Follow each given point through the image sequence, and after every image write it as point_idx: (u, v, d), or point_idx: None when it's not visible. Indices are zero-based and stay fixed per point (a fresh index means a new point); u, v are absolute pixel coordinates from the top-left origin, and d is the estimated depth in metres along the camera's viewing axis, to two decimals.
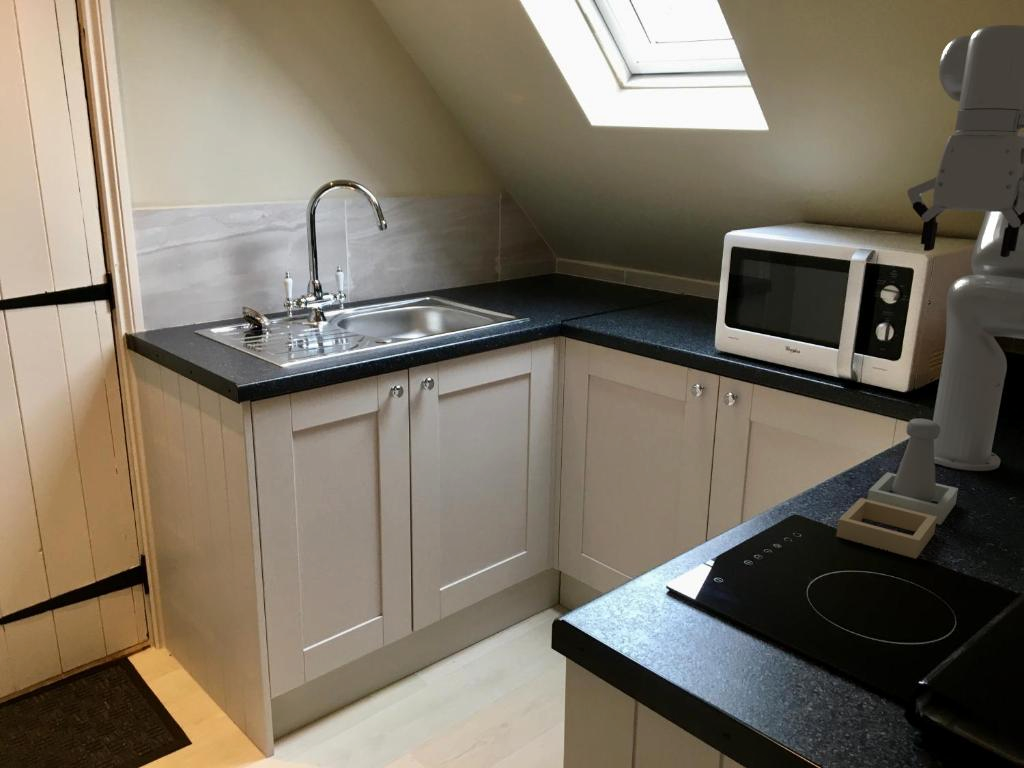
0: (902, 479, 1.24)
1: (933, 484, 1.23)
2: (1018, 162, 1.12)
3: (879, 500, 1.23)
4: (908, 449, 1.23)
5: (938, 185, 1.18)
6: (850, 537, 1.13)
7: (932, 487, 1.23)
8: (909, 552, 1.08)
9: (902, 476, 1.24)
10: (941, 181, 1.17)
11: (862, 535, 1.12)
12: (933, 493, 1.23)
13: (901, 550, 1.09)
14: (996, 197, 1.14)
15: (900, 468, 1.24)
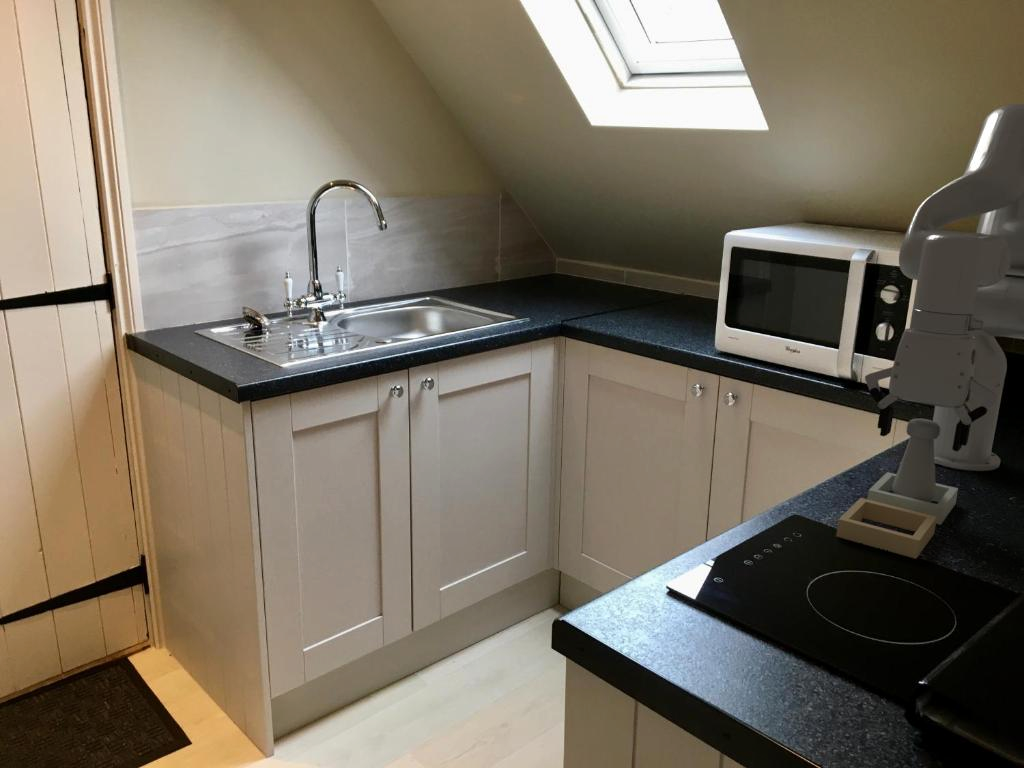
0: (902, 479, 1.24)
1: (933, 484, 1.23)
2: (969, 364, 1.16)
3: (879, 500, 1.23)
4: (908, 449, 1.23)
5: (893, 376, 1.21)
6: (850, 537, 1.13)
7: (932, 487, 1.23)
8: (909, 552, 1.08)
9: (902, 476, 1.24)
10: (896, 373, 1.21)
11: (862, 535, 1.12)
12: (933, 493, 1.23)
13: (901, 550, 1.09)
14: (948, 395, 1.17)
15: (900, 468, 1.24)
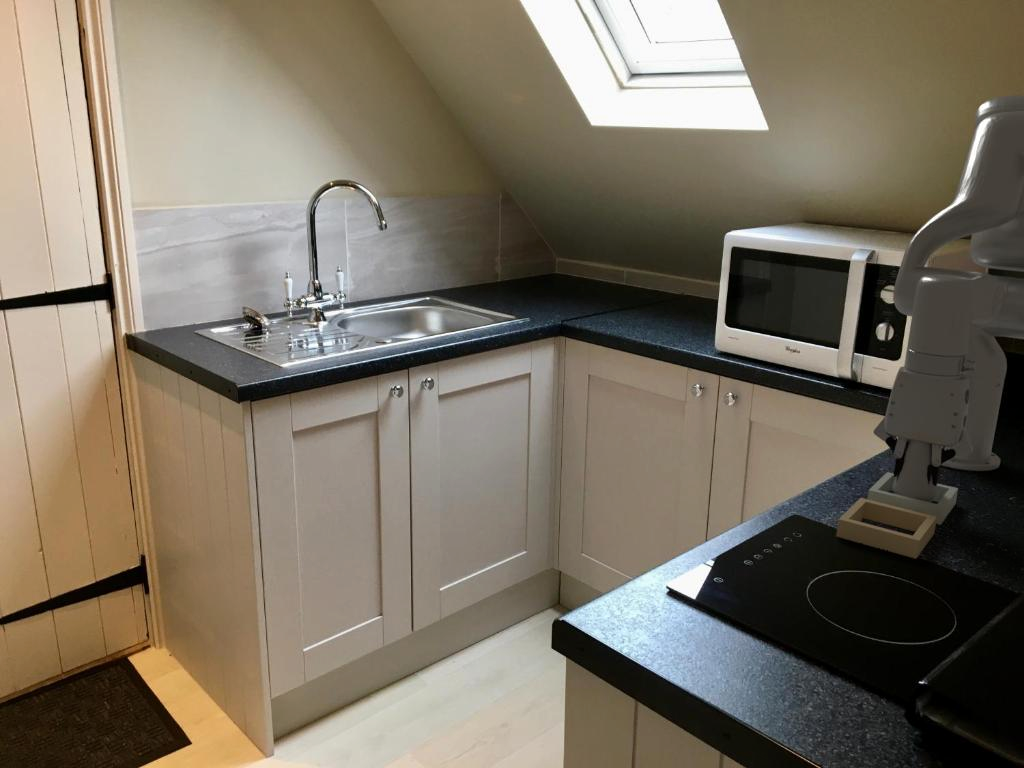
0: (902, 479, 1.24)
1: None
2: (962, 404, 1.17)
3: (879, 500, 1.23)
4: (908, 449, 1.23)
5: (889, 415, 1.23)
6: (850, 537, 1.13)
7: (932, 487, 1.23)
8: (909, 552, 1.08)
9: (903, 476, 1.24)
10: (891, 412, 1.23)
11: (862, 535, 1.12)
12: (933, 493, 1.23)
13: (901, 550, 1.09)
14: (942, 434, 1.19)
15: None
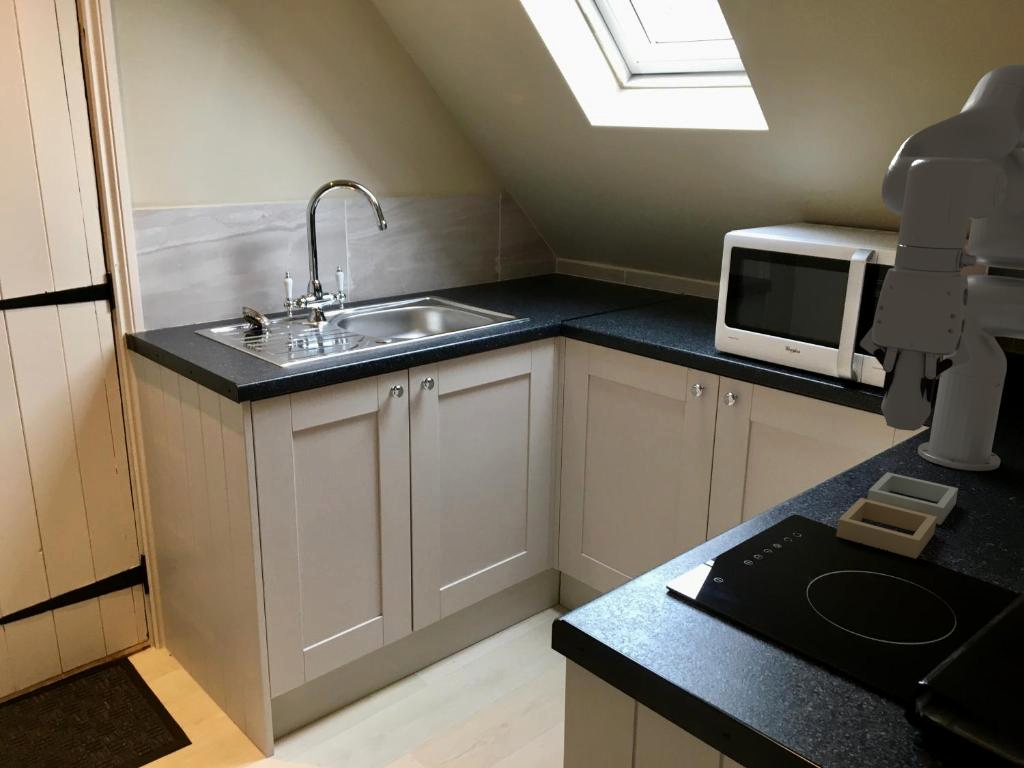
0: (892, 395, 1.09)
1: None
2: (960, 305, 1.03)
3: (879, 500, 1.23)
4: (899, 361, 1.08)
5: (877, 322, 1.09)
6: (850, 537, 1.13)
7: (926, 403, 1.08)
8: (909, 552, 1.08)
9: (893, 391, 1.09)
10: (879, 318, 1.08)
11: (862, 535, 1.12)
12: (928, 410, 1.08)
13: (901, 550, 1.09)
14: (937, 340, 1.05)
15: None
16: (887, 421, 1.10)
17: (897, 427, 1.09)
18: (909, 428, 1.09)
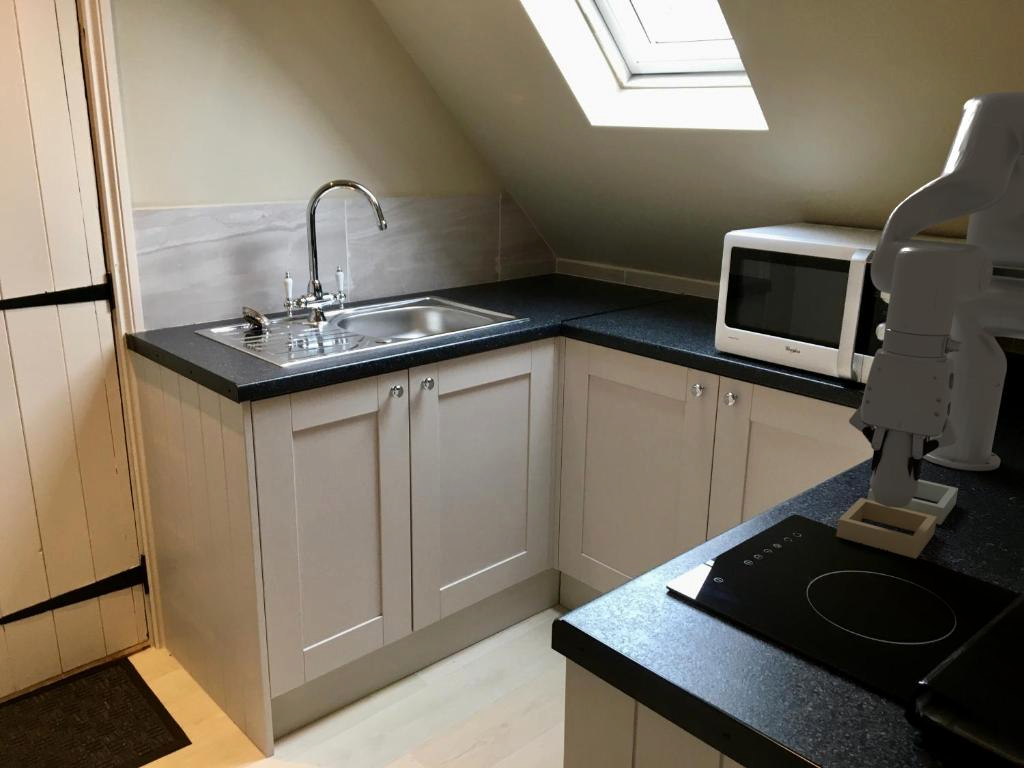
0: (880, 473, 1.11)
1: None
2: (946, 389, 1.05)
3: None
4: (887, 440, 1.11)
5: (865, 402, 1.11)
6: (850, 537, 1.13)
7: (914, 482, 1.10)
8: (909, 552, 1.08)
9: (881, 469, 1.11)
10: (868, 398, 1.11)
11: (862, 535, 1.12)
12: (915, 489, 1.11)
13: (901, 550, 1.09)
14: (924, 423, 1.07)
15: None
16: (875, 497, 1.13)
17: (885, 504, 1.12)
18: (896, 505, 1.11)
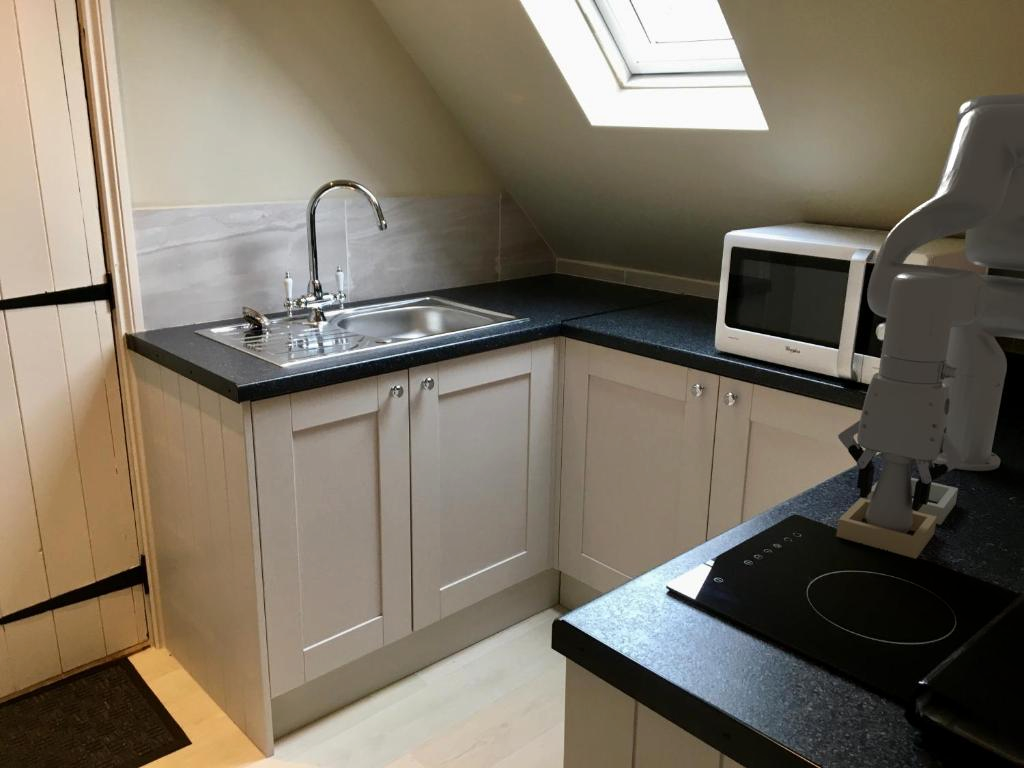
0: (876, 507, 1.13)
1: (910, 512, 1.12)
2: (942, 415, 1.06)
3: None
4: (883, 474, 1.12)
5: (862, 426, 1.12)
6: (850, 537, 1.13)
7: (909, 516, 1.12)
8: (909, 552, 1.08)
9: (876, 503, 1.13)
10: (864, 423, 1.12)
11: (862, 535, 1.12)
12: (910, 522, 1.12)
13: (901, 550, 1.09)
14: (920, 448, 1.08)
15: (874, 495, 1.14)
16: None
17: None
18: None
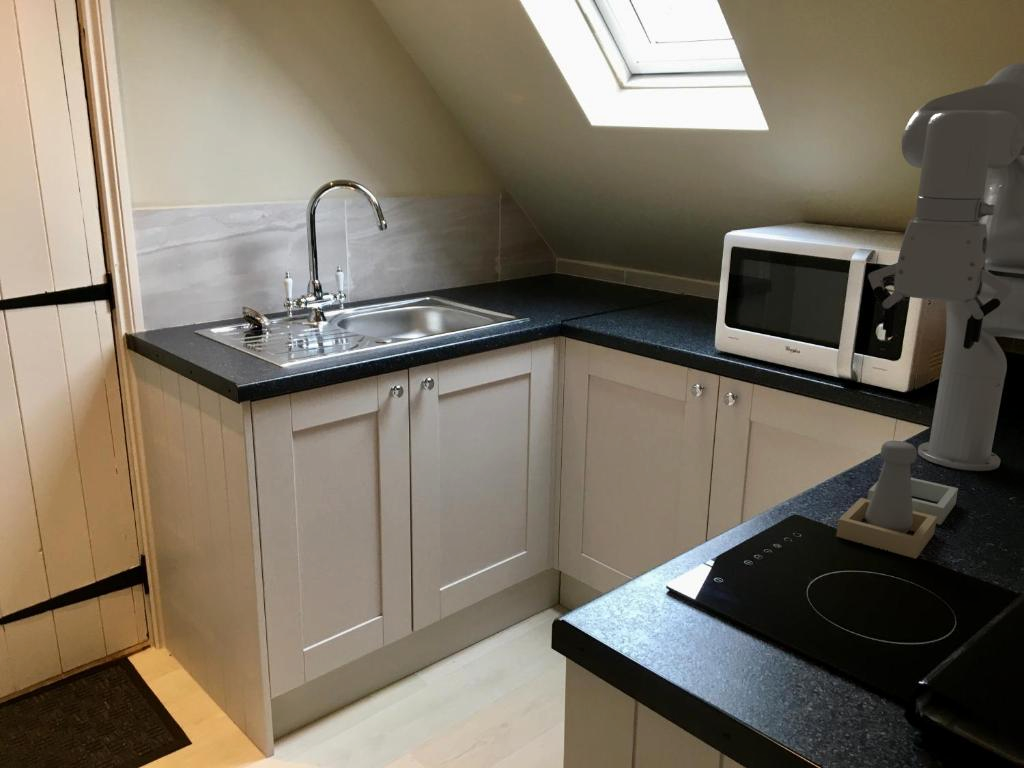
0: (876, 507, 1.13)
1: (910, 512, 1.12)
2: (980, 253, 1.07)
3: None
4: (882, 474, 1.12)
5: (898, 272, 1.13)
6: (850, 537, 1.13)
7: (909, 516, 1.12)
8: (909, 552, 1.08)
9: (876, 503, 1.13)
10: (901, 269, 1.12)
11: (862, 535, 1.12)
12: (910, 522, 1.12)
13: (901, 550, 1.09)
14: (958, 288, 1.09)
15: (874, 495, 1.14)
16: None
17: None
18: None
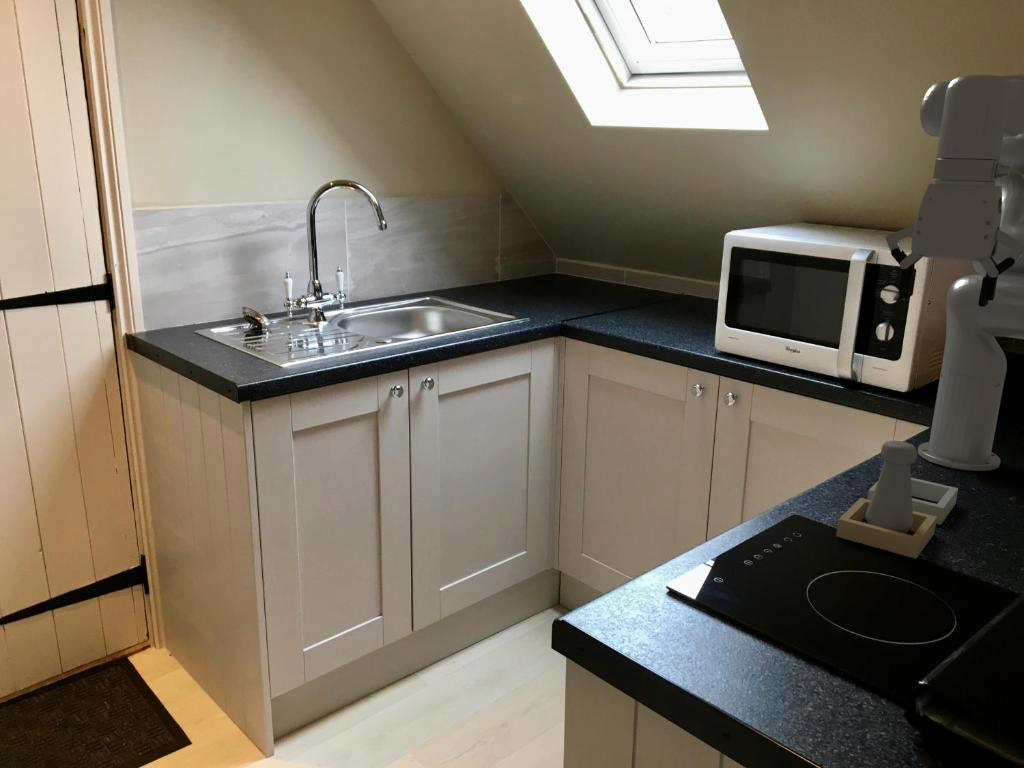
0: (876, 507, 1.13)
1: (910, 512, 1.12)
2: (996, 212, 1.11)
3: None
4: (882, 474, 1.12)
5: (916, 233, 1.17)
6: (850, 537, 1.13)
7: (909, 516, 1.12)
8: (909, 552, 1.08)
9: (876, 503, 1.13)
10: (919, 229, 1.16)
11: (862, 535, 1.12)
12: (910, 522, 1.12)
13: (901, 550, 1.09)
14: (974, 247, 1.13)
15: (874, 495, 1.14)
16: None
17: None
18: None
